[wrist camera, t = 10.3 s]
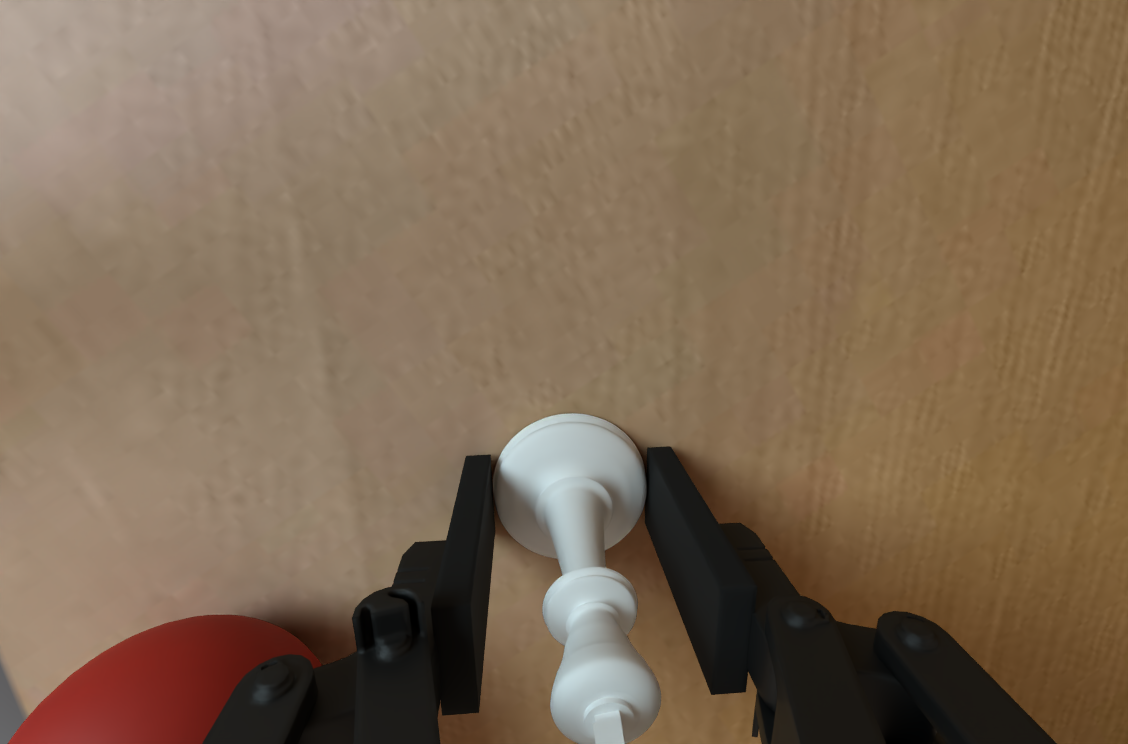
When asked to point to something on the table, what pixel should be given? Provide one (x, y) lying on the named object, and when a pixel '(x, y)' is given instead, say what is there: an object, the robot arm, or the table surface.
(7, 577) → the table surface
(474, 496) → the robot arm
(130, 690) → the tomato
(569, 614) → the chess piece
